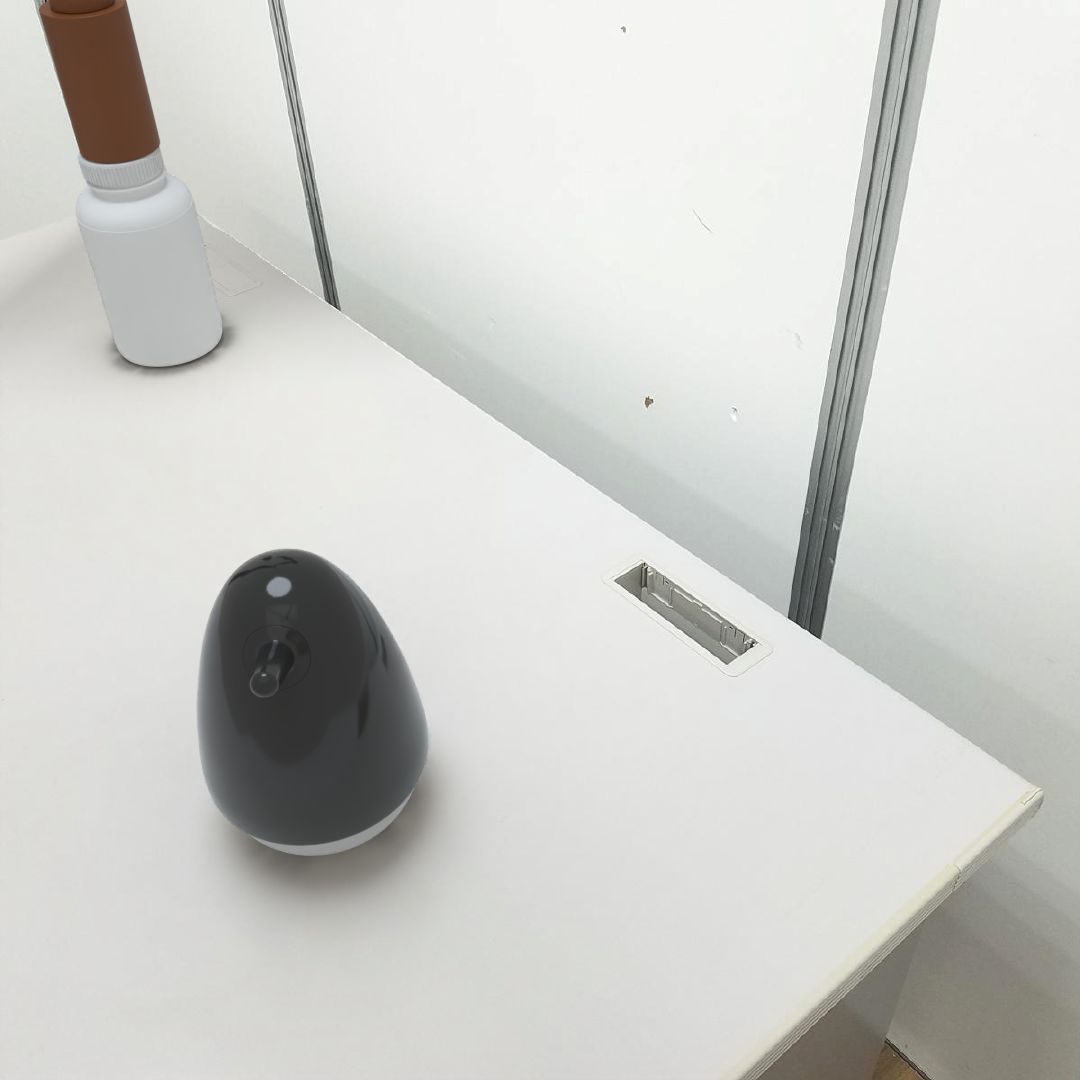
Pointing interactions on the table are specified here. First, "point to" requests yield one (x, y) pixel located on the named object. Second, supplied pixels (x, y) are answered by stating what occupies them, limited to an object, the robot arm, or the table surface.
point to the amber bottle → (101, 78)
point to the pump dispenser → (306, 708)
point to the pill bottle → (148, 261)
